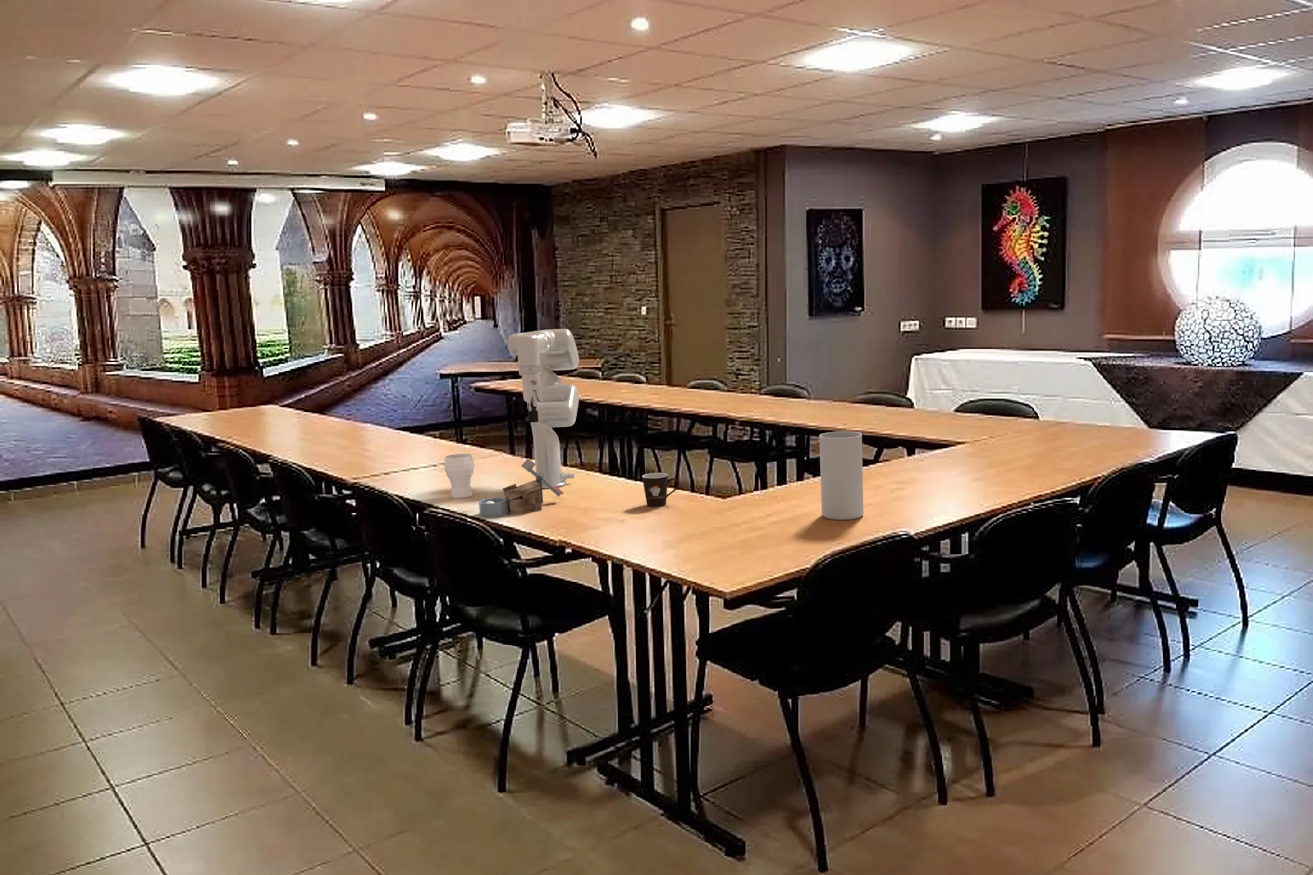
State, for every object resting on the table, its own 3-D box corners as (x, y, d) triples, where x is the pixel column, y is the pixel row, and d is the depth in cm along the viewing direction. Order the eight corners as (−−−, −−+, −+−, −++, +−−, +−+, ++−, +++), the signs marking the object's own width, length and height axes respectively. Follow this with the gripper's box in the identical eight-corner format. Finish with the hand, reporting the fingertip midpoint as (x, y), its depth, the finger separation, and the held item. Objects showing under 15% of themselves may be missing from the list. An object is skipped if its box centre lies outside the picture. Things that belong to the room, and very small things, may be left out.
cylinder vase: (860, 521, 292) (858, 438, 288) (818, 520, 296) (815, 438, 293) (866, 511, 304) (864, 431, 300) (826, 510, 308) (823, 431, 304)
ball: (492, 497, 331) (481, 503, 330) (494, 500, 327) (483, 505, 326) (497, 508, 332) (486, 513, 331) (499, 510, 328) (488, 516, 327)
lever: (556, 496, 343) (563, 489, 344) (564, 502, 333) (571, 495, 333) (520, 465, 338) (527, 458, 338) (527, 470, 327) (533, 462, 328)
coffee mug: (639, 507, 327) (637, 477, 326) (651, 501, 335) (649, 472, 333) (670, 509, 322) (668, 479, 320) (681, 503, 329) (680, 473, 328)
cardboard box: (542, 502, 343) (540, 474, 341) (550, 509, 332) (548, 480, 330) (501, 507, 338) (499, 479, 337) (508, 514, 327) (506, 485, 326)
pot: (504, 509, 335) (503, 496, 334) (509, 514, 327) (508, 501, 326) (478, 512, 332) (477, 499, 331) (483, 518, 324) (481, 504, 323)
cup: (469, 499, 355) (466, 458, 353) (442, 499, 357) (438, 458, 355) (480, 492, 365) (477, 453, 363) (454, 493, 368) (450, 453, 365)
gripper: (544, 370, 340) (548, 423, 343) (535, 368, 354) (539, 418, 356) (523, 372, 337) (527, 425, 340) (514, 369, 351) (518, 420, 354)
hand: (533, 421), depth 348 cm, fingers closed
